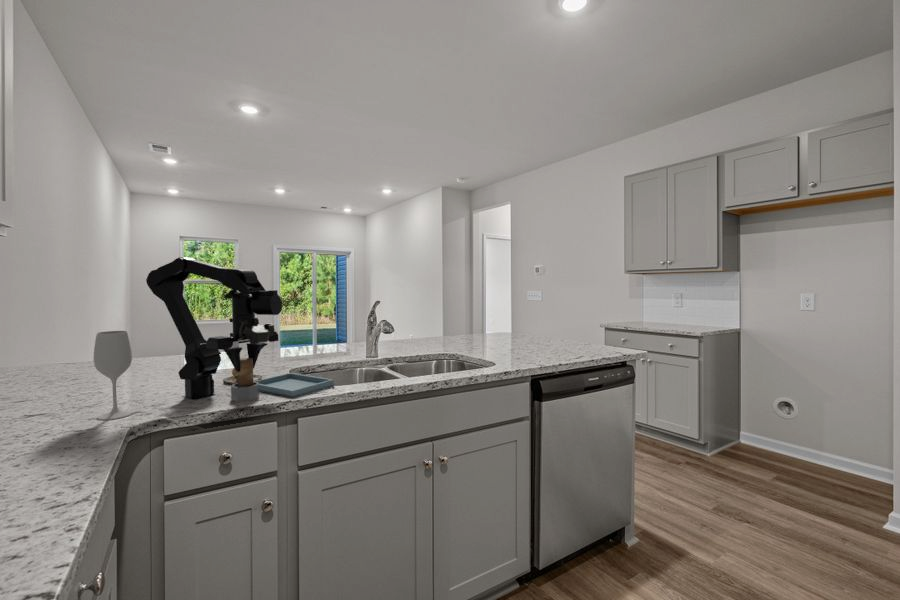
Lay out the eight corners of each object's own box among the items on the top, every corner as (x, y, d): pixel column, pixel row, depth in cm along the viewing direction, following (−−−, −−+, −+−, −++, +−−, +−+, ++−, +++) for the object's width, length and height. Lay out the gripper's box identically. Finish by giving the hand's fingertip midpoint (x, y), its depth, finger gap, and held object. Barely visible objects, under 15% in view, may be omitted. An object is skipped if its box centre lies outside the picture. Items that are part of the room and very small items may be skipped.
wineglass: (128, 409, 116) (125, 329, 115) (138, 414, 111) (135, 331, 110) (92, 416, 110) (88, 332, 109) (100, 422, 105) (97, 335, 104)
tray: (292, 399, 125) (292, 391, 125) (247, 390, 135) (247, 382, 135) (333, 387, 138) (333, 379, 138) (290, 380, 149) (290, 372, 148)
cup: (242, 405, 120) (241, 388, 119) (227, 401, 123) (226, 385, 123) (264, 399, 125) (263, 383, 125) (248, 395, 129) (248, 380, 129)
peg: (243, 389, 121) (242, 361, 121) (234, 388, 123) (233, 359, 123) (256, 386, 125) (255, 358, 124) (247, 385, 127) (246, 357, 126)
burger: (252, 388, 139) (251, 364, 139) (215, 387, 140) (214, 364, 139) (268, 379, 151) (268, 357, 151) (234, 379, 152) (234, 357, 151)
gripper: (230, 318, 111) (231, 380, 112) (290, 313, 127) (291, 367, 128) (204, 316, 116) (206, 375, 117) (265, 311, 133) (266, 363, 133)
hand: (245, 370), depth 124 cm, fingers closed on peg, 4 cm apart
